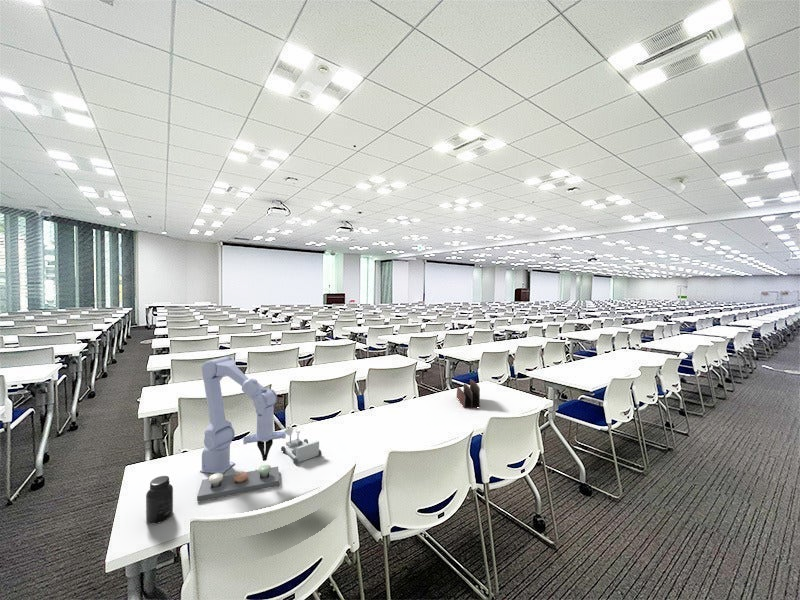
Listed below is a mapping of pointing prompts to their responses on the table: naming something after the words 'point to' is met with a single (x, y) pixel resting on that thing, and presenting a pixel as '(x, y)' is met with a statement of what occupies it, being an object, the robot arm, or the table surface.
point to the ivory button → (216, 479)
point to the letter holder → (469, 395)
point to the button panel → (238, 485)
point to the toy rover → (300, 448)
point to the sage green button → (264, 470)
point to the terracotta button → (240, 477)
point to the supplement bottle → (159, 500)
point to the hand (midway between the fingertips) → (264, 459)
